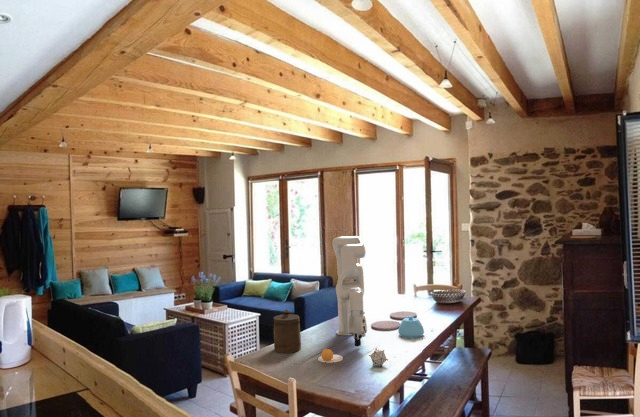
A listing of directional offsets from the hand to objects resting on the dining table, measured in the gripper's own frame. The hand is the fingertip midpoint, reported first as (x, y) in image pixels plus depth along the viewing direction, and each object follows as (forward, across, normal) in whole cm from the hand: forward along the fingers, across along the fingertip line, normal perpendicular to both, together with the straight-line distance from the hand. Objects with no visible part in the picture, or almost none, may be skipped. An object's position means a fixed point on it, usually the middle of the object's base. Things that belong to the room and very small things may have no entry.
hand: (357, 345), depth 267 cm
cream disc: (+2, 0, +22) cm, 22 cm away
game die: (+2, -26, +15) cm, 30 cm away
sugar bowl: (+2, -8, -40) cm, 41 cm away
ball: (-2, -1, +26) cm, 26 cm away
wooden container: (+2, +30, +25) cm, 39 cm away
